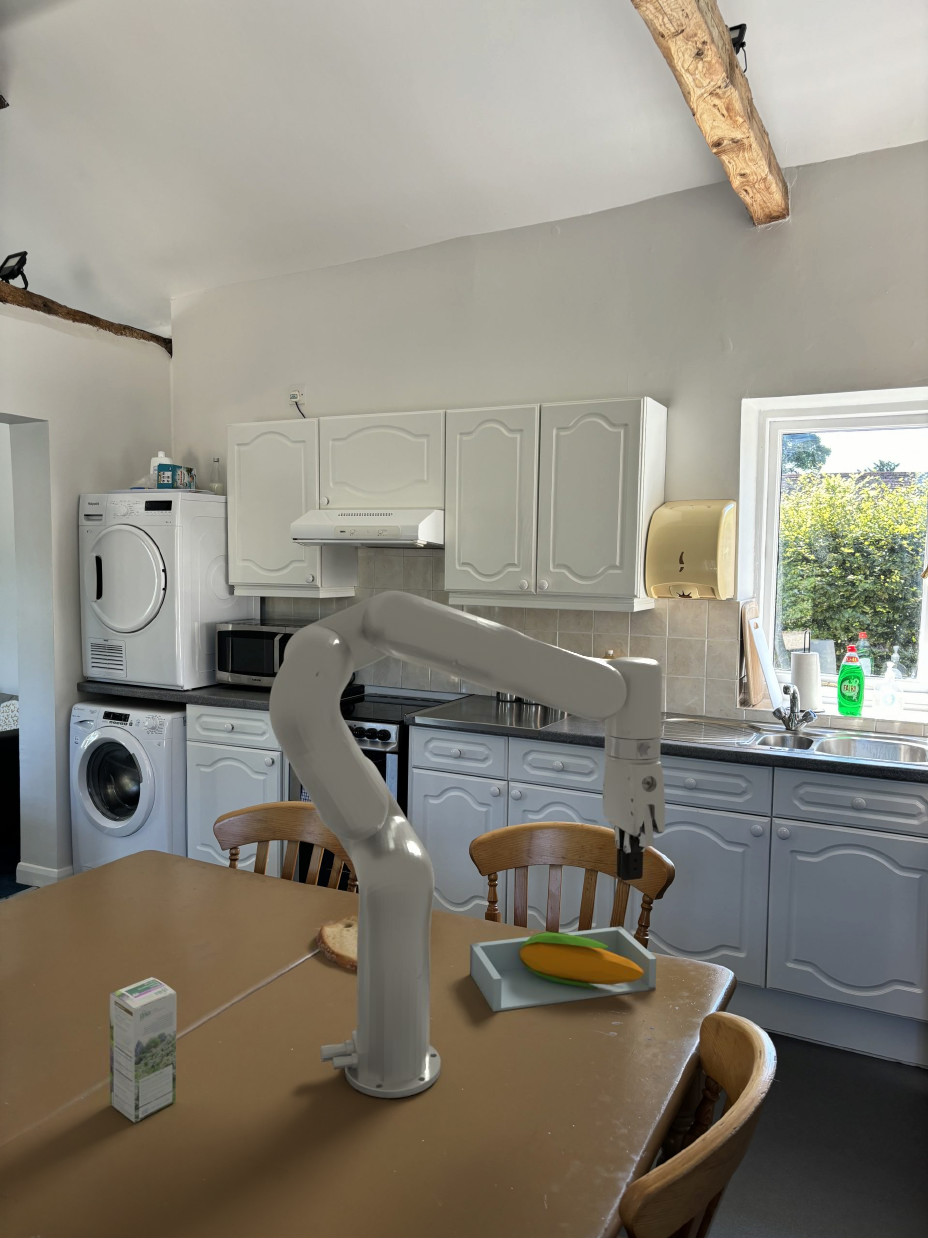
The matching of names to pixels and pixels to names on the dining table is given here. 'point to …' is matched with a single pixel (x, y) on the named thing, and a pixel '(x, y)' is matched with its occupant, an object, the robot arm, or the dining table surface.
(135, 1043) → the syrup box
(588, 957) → the corn
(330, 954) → the slice of bread
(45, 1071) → the dining table surface
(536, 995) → the tray
